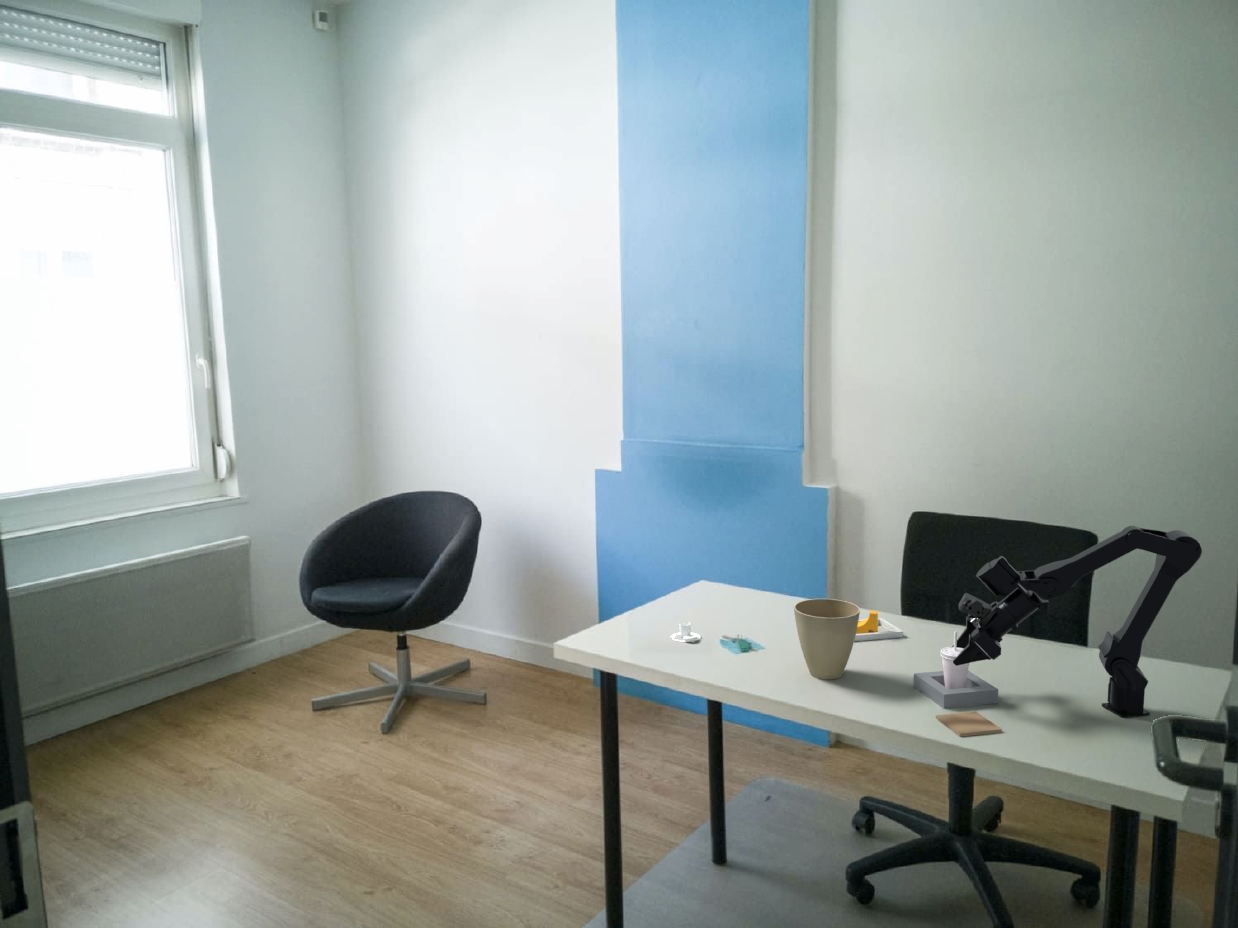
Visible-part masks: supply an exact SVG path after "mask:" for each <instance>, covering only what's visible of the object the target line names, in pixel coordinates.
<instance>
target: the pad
mask: <svg viewBox="0 0 1238 928" xmlns="http://www.w3.org/2000/svg"><path fill="white" fill-rule="evenodd" d="M935 719H936V720H938V721H939V723H941V724H943V725H944V726H946V727H947V728H948V729H949V730H951V731H952V732H953V733H955V734H956V735H957V736H958V737H968V736H969V737H970V736H979V735H987V734H997V733H1003V729H1002V728H1001V727H999V726H998V725H997V724H995V723H994V722H992V721H991V720H989V719H988V718H986V717H985V716H983V714H981V713H980V712H978V711H977V710H975V711H965V712H957V713H947V714H938V715H935Z"/></svg>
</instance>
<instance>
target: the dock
mask: <svg viewBox="0 0 1238 928" xmlns="http://www.w3.org/2000/svg"><path fill="white" fill-rule="evenodd" d="M912 686H913V687H914V688H915V689H916V690H918V691H919V692H920V693H922V694H923V695H925V696H926V697H928V698H929V699H930V700H932V701H933V702H934V703H936V705H938V706H939V707H940V708H942V709H950V708H959V707H960V708H961V707H970V706H979V705H980V706H981V705H991V704H998V703H999V688H997V687H995V686H994V685H992V684H991V683H989V682H988V681H986V680H985V679H982V678H981V677H979V675H976V674H975V673H973V672H971V671H970V670H968V673H967V679H966V685H965V688H956V689H947V688H946V687H945V682H944V672H943V670H937V671H936V670H935V671H927V672H915V673H913V685H912Z"/></svg>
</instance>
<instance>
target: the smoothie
mask: <svg viewBox="0 0 1238 928" xmlns="http://www.w3.org/2000/svg"><path fill="white" fill-rule="evenodd" d="M957 637H958V631H956V630H955V631H954V632H953V645H954V647H952V646H947V647H946V646H945V647H943V648H941V649H940V655H939V656H940V657H941V658H942V659H941V662H942V671H943V672H944V682H945V687H946V688H947V689H956V688H965V685H966V679H967V673H968V671H969V668H970V663H967V664H962V665H958V666H956V665H955V664H954V663H953V660H954V659H955V658H956V657H957V656H958V655H959V654H960V653H961V652H962V650H963V648H958V647H957V639H958V638H957Z"/></svg>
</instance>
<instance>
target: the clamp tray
mask: <svg viewBox="0 0 1238 928" xmlns="http://www.w3.org/2000/svg"><path fill="white" fill-rule="evenodd" d="M863 620H867V618H864V619H859V620H858V622H861V621H863ZM878 626H881V627H883V628H884V629H886V630H887V631H878V632H875V633H863V634H856V636H855V640H854V642H860V641H861V642H862V641H870V640H871V641H874V640H884V639H885V640H887V639H895V638H896V639H897V638H904V631H903V630H902V629H900V628H899V627H896V626H895V625H894V624H892V623H891V622H889V621H887V620H885V619H884V618H883V617H878Z"/></svg>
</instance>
